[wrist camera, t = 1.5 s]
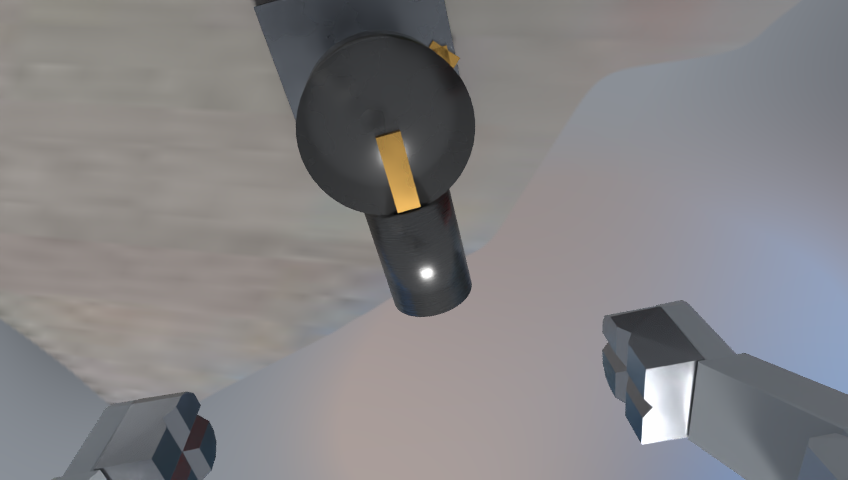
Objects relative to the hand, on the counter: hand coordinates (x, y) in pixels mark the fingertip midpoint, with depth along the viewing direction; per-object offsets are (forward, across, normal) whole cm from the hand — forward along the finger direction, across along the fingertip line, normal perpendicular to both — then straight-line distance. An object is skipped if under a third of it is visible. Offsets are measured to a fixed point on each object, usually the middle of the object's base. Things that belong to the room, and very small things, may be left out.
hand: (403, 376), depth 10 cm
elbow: (+20, 0, +3) cm, 20 cm away
